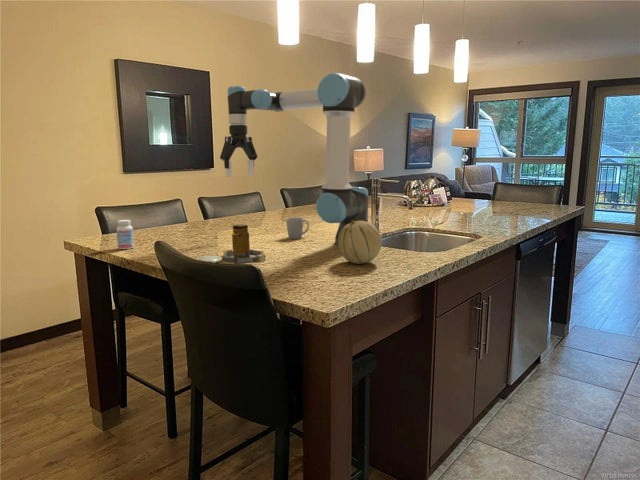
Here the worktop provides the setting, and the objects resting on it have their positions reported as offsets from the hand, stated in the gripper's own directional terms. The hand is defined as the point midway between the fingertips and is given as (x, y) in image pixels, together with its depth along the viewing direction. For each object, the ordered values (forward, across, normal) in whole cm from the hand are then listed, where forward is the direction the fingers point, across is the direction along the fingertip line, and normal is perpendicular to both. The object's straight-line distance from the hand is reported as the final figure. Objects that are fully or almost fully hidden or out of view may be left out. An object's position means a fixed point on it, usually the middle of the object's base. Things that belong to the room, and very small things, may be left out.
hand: (240, 175), depth 205 cm
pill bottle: (+27, +41, -24) cm, 55 cm away
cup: (+28, -13, +20) cm, 37 cm away
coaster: (+27, +39, +20) cm, 51 cm away
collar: (+27, +29, +28) cm, 48 cm away
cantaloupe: (+28, +13, +67) cm, 73 cm away
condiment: (+28, +29, +28) cm, 48 cm away
